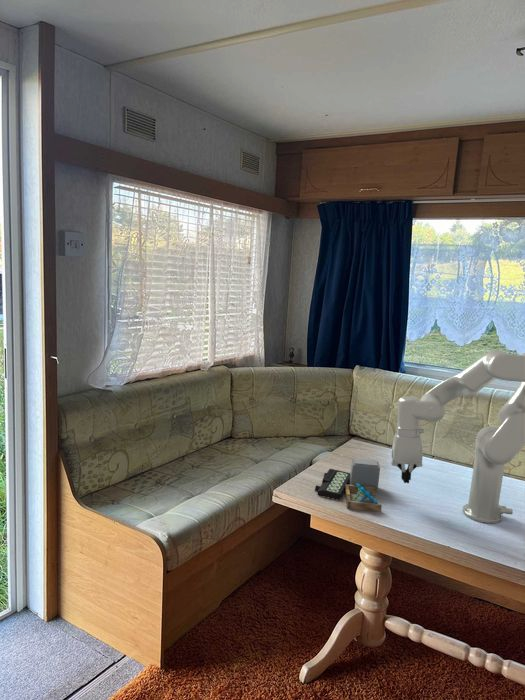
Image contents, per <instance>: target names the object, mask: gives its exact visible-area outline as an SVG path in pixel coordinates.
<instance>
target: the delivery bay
mask: <svg viewBox="0 0 525 700" xmlns="http://www.w3.org/2000/svg"><path fill="white" fill-rule="evenodd" d="M362 487H363V488H364V489H365V490H366V491H367V492H368V491H369V492H370V495H375V496H376V495H377V494H378V492H377V487H367V486H362ZM358 489H359V488H358V487H357V485H349V484H346V485H345V491H344V493H345V502H346V509H350V510H358V511H359V510H360V511H368V512H369V511H370V512H378V513H382V504H381V503H378V504H375V503H373V502H364V501H363V502H358V501H357V500H356V501H354V500H351V493H357V492H358V491H359V490H358ZM359 492H360V491H359ZM357 494H358V493H357Z"/></svg>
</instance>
